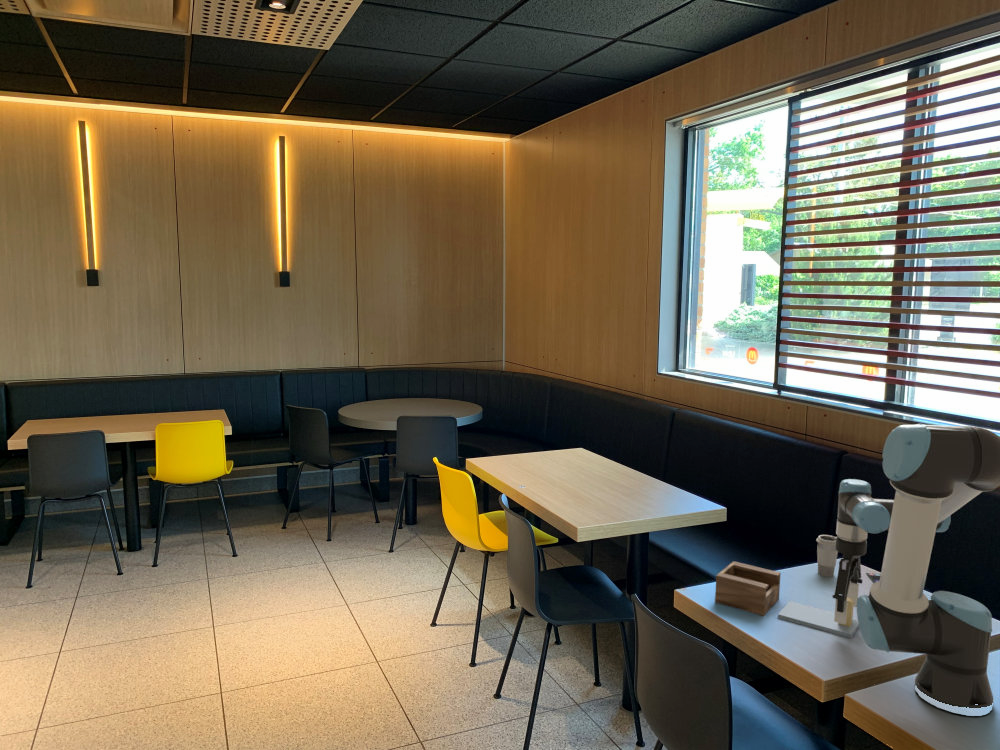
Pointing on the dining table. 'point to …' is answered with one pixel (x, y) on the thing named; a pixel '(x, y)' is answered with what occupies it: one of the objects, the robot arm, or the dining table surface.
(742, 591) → the case
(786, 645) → the dining table surface
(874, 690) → the dining table surface
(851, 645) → the dining table surface
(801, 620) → the lid
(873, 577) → the smartphone
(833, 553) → the cup
